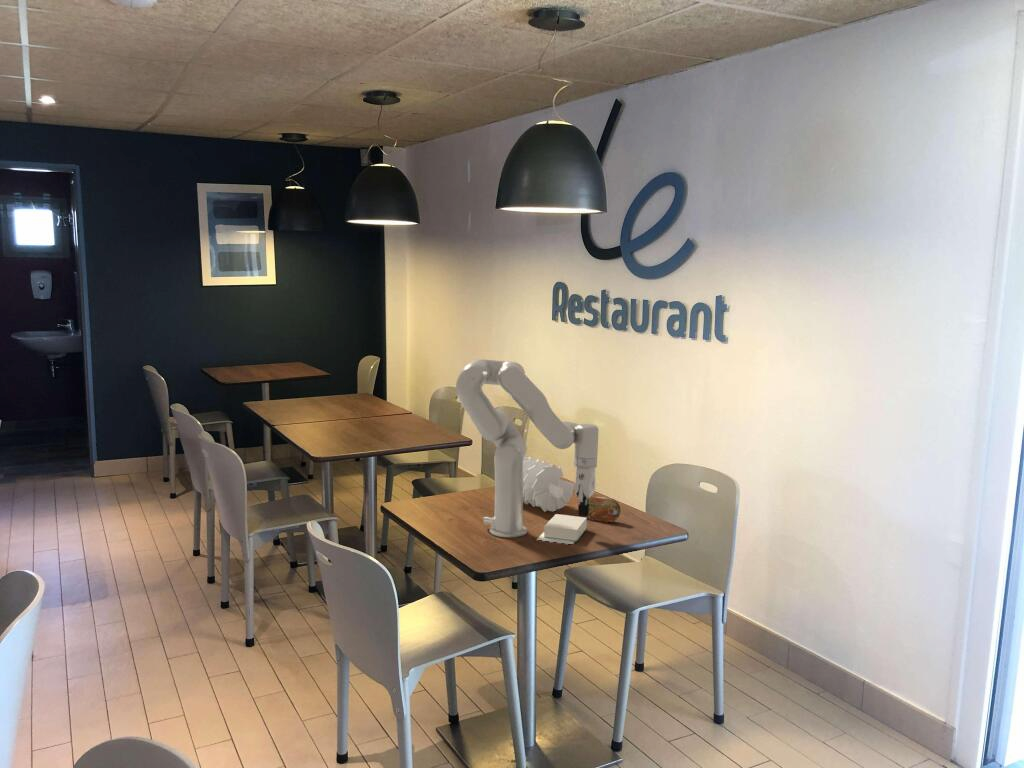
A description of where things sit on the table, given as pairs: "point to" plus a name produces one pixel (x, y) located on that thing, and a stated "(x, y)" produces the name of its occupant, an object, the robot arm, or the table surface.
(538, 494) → the spiral staircase
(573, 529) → the tile
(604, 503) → the tin
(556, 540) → the mat
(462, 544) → the table surface
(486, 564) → the table surface
